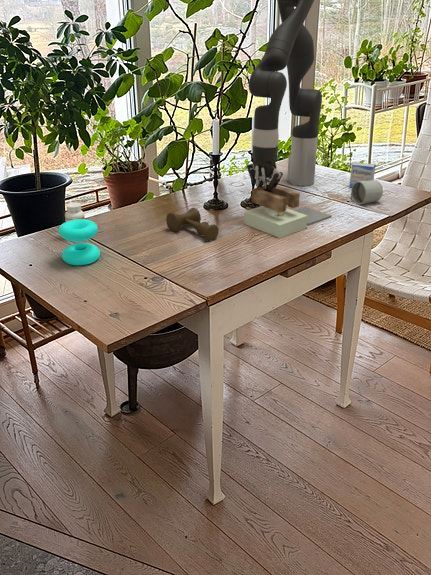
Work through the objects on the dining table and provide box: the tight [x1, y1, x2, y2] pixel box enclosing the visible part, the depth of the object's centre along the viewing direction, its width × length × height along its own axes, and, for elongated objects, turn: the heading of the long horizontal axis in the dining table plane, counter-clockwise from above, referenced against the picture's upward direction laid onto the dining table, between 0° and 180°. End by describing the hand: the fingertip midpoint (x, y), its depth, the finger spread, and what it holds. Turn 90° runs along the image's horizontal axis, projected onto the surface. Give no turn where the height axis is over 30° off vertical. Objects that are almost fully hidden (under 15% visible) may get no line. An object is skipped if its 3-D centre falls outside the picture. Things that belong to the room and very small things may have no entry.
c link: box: [251, 185, 301, 213], centre depth 176 cm, size 12×8×4 cm, turn 41°
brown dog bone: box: [165, 207, 220, 242], centre depth 174 cm, size 6×10×20 cm
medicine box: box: [348, 161, 376, 189], centre depth 211 cm, size 8×4×9 cm, turn 68°
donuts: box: [58, 219, 101, 266], centre depth 155 cm, size 10×10×10 cm
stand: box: [243, 205, 308, 239], centre depth 177 cm, size 15×12×9 cm
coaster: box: [292, 206, 332, 226], centre depth 186 cm, size 11×11×1 cm
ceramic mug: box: [350, 179, 384, 205], centre depth 198 cm, size 11×8×8 cm
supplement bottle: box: [64, 202, 86, 222], centre depth 169 cm, size 5×5×10 cm
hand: (263, 199), depth 180 cm, fingers closed on c link, 2 cm apart
